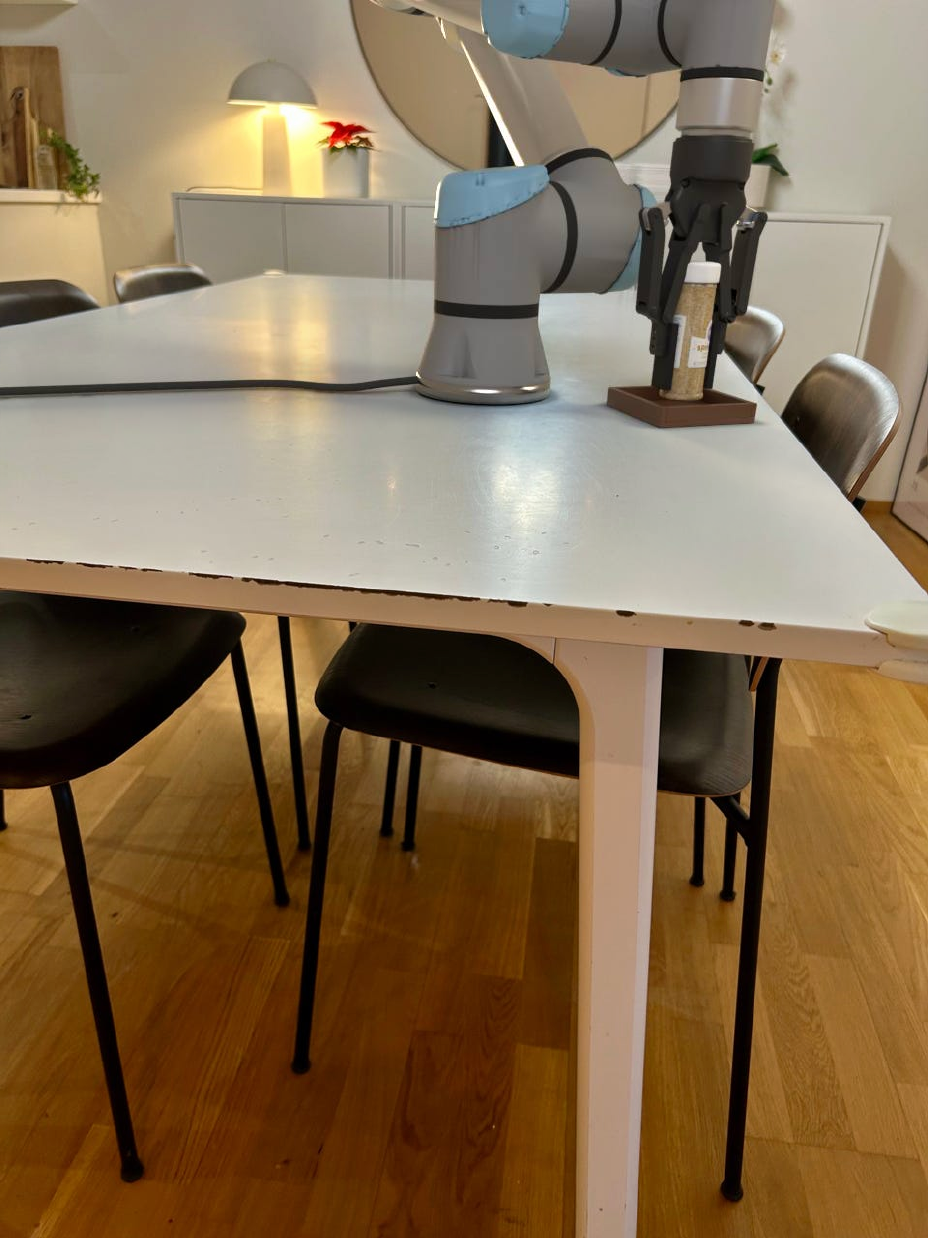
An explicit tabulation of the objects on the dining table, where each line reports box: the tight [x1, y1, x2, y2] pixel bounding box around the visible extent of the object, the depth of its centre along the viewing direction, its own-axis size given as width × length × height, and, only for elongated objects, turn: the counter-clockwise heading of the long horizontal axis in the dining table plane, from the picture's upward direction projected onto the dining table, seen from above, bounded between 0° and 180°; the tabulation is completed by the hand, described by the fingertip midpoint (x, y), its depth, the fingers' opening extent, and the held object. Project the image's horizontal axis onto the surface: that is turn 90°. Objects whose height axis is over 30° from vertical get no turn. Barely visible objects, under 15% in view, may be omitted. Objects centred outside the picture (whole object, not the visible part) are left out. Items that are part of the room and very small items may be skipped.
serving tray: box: [606, 385, 758, 429], centre depth 96 cm, size 11×11×2 cm
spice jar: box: [659, 260, 721, 402], centre depth 92 cm, size 5×5×14 cm
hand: (681, 386), depth 95 cm, fingers closed on spice jar, 4 cm apart
